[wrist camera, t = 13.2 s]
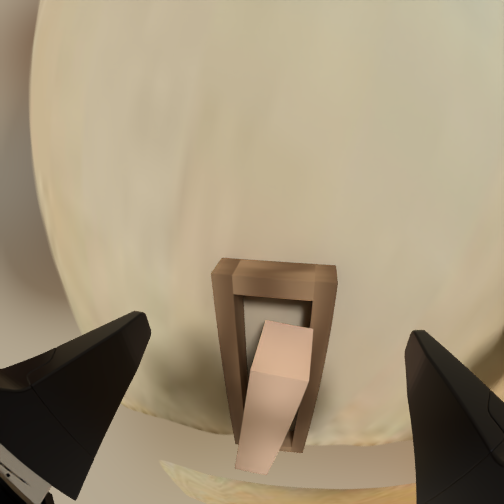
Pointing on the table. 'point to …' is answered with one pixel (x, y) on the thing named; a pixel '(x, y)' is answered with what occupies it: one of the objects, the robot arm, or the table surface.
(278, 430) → the clay strip
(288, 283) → the frame
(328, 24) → the table surface
